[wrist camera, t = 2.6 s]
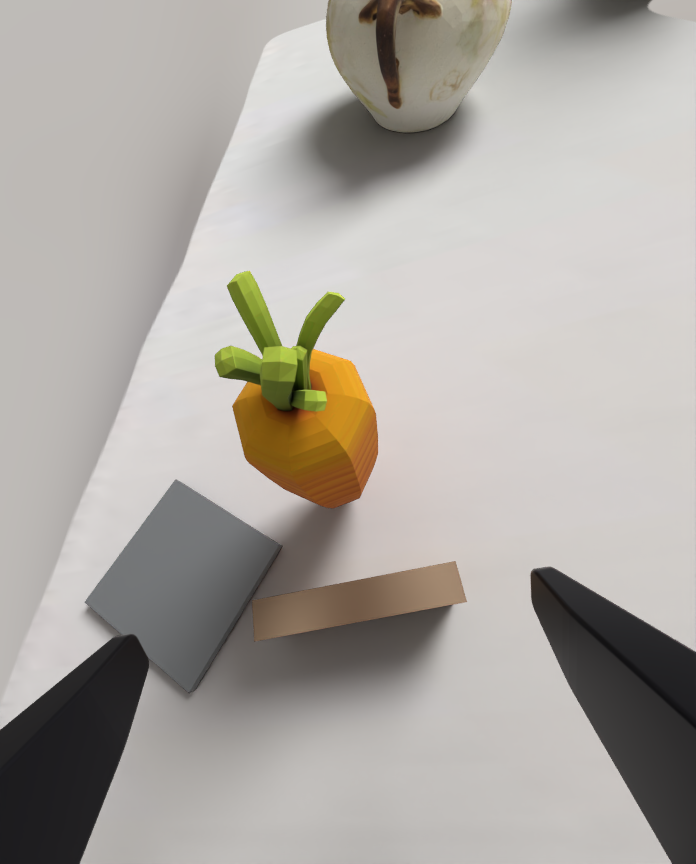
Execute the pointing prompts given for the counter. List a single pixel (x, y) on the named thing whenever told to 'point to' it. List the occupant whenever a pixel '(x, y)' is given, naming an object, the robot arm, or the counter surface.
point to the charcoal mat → (184, 582)
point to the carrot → (300, 405)
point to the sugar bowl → (413, 54)
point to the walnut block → (357, 601)
